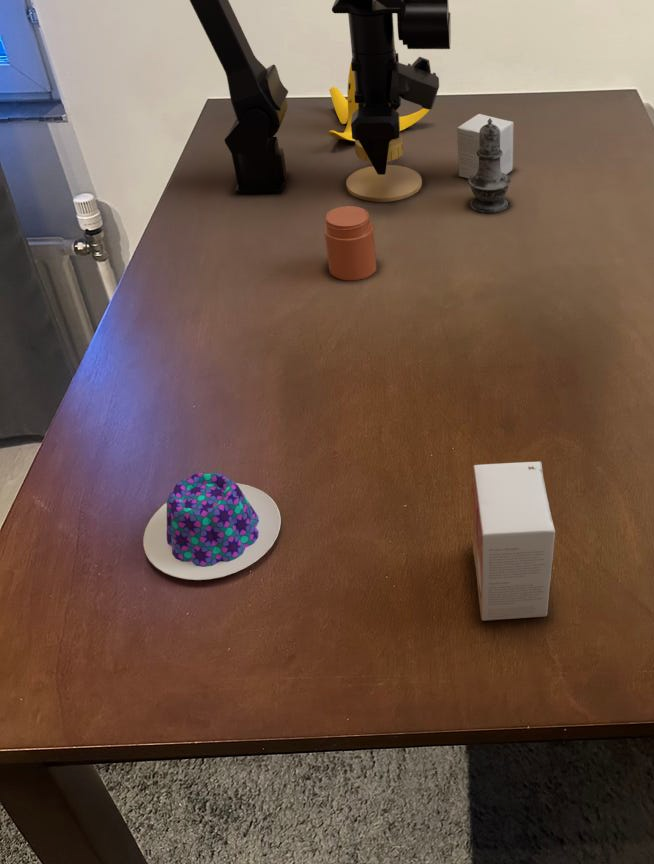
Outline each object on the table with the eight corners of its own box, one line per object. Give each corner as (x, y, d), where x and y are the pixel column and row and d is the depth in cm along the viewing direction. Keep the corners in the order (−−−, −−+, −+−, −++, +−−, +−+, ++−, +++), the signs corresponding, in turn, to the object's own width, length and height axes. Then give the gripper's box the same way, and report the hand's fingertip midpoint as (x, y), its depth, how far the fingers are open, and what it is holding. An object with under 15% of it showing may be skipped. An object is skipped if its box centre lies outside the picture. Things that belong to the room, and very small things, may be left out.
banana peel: (330, 154, 138) (316, 37, 126) (331, 107, 151) (319, -2, 139) (437, 149, 139) (433, 33, 127) (428, 103, 152) (424, -6, 141)
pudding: (254, 594, 75) (242, 552, 71) (121, 575, 76) (103, 533, 73) (299, 496, 83) (291, 454, 80) (179, 481, 85) (165, 439, 81)
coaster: (344, 202, 126) (343, 198, 126) (348, 169, 134) (348, 165, 134) (421, 201, 126) (421, 197, 126) (422, 167, 134) (421, 163, 134)
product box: (513, 171, 133) (515, 121, 128) (492, 186, 130) (492, 136, 125) (479, 161, 136) (479, 112, 131) (457, 176, 132) (456, 126, 127)
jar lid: (403, 142, 129) (402, 130, 128) (402, 162, 125) (401, 149, 123) (357, 143, 129) (356, 130, 128) (354, 163, 124) (353, 150, 123)
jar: (327, 281, 111) (320, 228, 106) (330, 257, 115) (323, 205, 110) (376, 279, 111) (371, 226, 106) (377, 255, 115) (372, 203, 110)
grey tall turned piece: (511, 196, 128) (513, 110, 119) (508, 215, 123) (510, 127, 115) (470, 194, 128) (470, 108, 120) (466, 213, 124) (465, 126, 115)
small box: (472, 551, 78) (471, 462, 71) (535, 547, 79) (541, 458, 71) (480, 623, 73) (480, 534, 65) (548, 618, 73) (555, 530, 66)
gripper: (435, 72, 111) (439, 192, 122) (433, 24, 124) (437, 137, 135) (345, 73, 110) (357, 194, 121) (353, 26, 124) (363, 138, 135)
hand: (382, 164), depth 128 cm, fingers closed on jar lid, 6 cm apart
